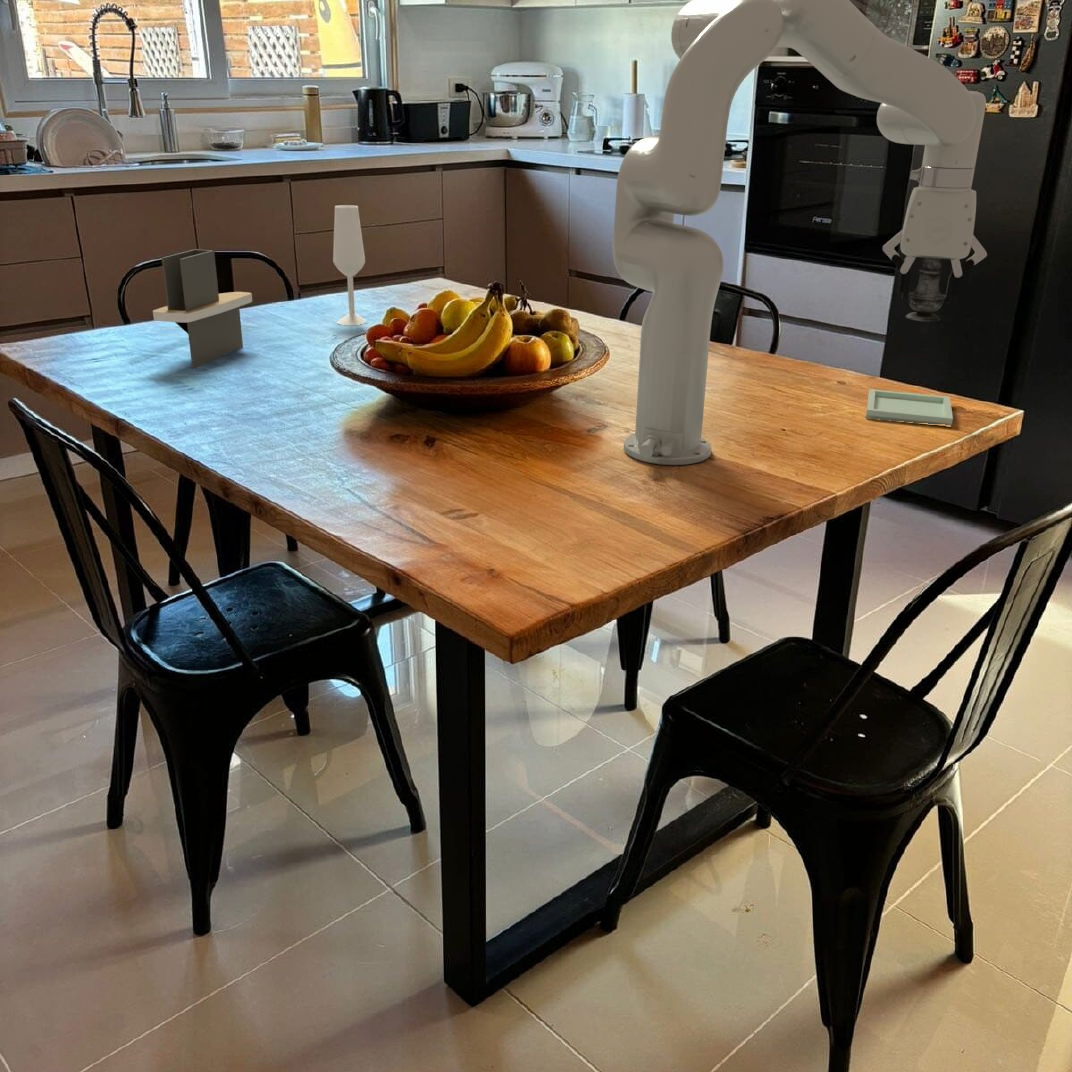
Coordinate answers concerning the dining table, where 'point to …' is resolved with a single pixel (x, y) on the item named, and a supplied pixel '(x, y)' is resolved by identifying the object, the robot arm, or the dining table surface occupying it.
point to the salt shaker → (927, 292)
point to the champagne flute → (348, 253)
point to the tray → (909, 407)
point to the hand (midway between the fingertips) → (926, 298)
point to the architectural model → (201, 305)
